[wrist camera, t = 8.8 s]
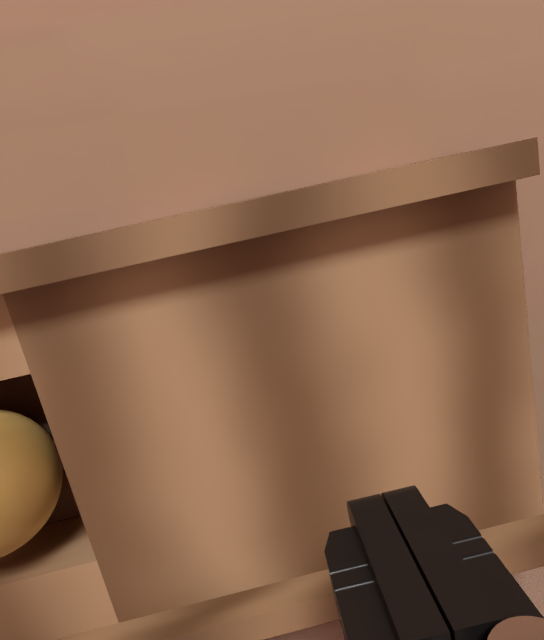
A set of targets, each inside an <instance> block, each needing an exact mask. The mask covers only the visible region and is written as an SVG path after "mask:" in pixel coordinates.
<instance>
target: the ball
mask: <svg viewBox="0 0 544 640" xmlns="http://www.w3.org/2000/svg"><path fill="white" fill-rule="evenodd" d="M62 480H63V469H62V462H61V458H60V455H59V453H58V450H57V447H56V445H55V443H54V441H53V440H52V438H51V437H50V436H49V434H48V433H47V432H46V431H45V430H44V429H43V428H42V427H41V426H40V425H39V424H37V423H36V422H34V421H33V420H32V419H29V418H27V417H25V416H23V415H21V414H19V413H15V412H12V411H7V410H1V409H0V558H1V557H3V556H5V555H7V554H9V553H11V552H13V551H15V550H16V549H18V548H19V547H21V546H22V545H24V544H25V543H27V542H28V541H29V540H30V539H31V538H32V537H33V536H35V535H36V534H37V532H38V531H39V530H40V529H41V528H42V527H43V526H44V525H45V523H46V522H47V520H48V519H49V517H50V516H51V514H52V512H53V510H54V508H55V506H56V504H57V502H58V499H59V496H60V492H61V488H62Z"/></svg>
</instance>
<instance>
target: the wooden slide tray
mask: <svg viewBox="0 0 544 640" xmlns="http://www.w3.org/2000/svg"><path fill="white" fill-rule="evenodd" d="M535 175H540V169H539V156H538V142H537V137H536V138H532V139H527V140H522V141H517V142H513V143H508V144H503V145H498V146H494V147H489V148H484V149H479V150H475V151H470V152H465V153H460V154H456V155H451V156H447V157H442V158H438V159H433V160H428V161H424V162H419V163H415V164H410V165H406V166H401V167H396V168H392V169H387V170H383V171H378V172H373V173H369V174H364V175H360V176H355V177H351V178H346V179H341V180H337V181H332V182H328V183H323V184H319V185H314V186H309V187H305V188H300V189H296V190H291V191H286V192H282V193H277V194H273V195H268V196H264V197H259V198H254V199H250V200H245V201H241V202H236V203H232V204H227V205H222V206H218V207H213V208H209V209H204V210H200V211H195V212H190V213H186V214H181V215H177V216H172V217H167V218H163V219H158V220H154V221H149V222H145V223H140V224H135V225H131V226H126V227H122V228H117V229H113V230H108V231H103V232H99V233H94V234H90V235H85V236H80V237H76V238H71V239H67V240H62V241H58V242H53V243H48V244H44V245H39V246H35V247H30V248H26V249H21V250H16V251H12V252H7V253H3V254H0V381H2V380H6V379H10V378H15V377H19V376H23V375H28V374H31V376H32V379H33V382H34V385H35V388H36V390H37V393H38V396H39V399H40V402H41V405H42V407H43V410H44V413H45V416H46V419H47V421H48V424H49V427H50V430H51V433H52V436H53V438H54V441H55V444H56V447H57V450H58V453H59V455H60V458H61V461H62V464H63V467H64V470H65V472H66V475H67V478H68V481H69V484H70V487H71V489H72V492H73V495H74V498H75V501H76V503H77V506H78V509H79V512H80V515H81V516H79V517H75V518H71V519H67V520H63V521H59V522H55V523H51V524H47V525H44V526H43V527H42V528H41V529H40V530H39V531H38V532H37V534H36V535H35V536H33V537H32V538H31V539H30V540H29V541H28V542H27V543H25V544H24V545H22V546H21V547H19V548H18V549H16V550H15V551H13V552H11V553H9V554H7V555H5V556H3V557H1V558H0V640H264V639H267V638H271V637H275V636H279V635H283V634H286V633H290V632H294V631H298V630H302V629H306V628H309V627H313V626H317V625H321V624H325V623H328V622H332V621H336V620H340V618H339V614H338V610H337V606H336V601H335V597H334V592H333V588H332V583H331V579H330V575H329V570H328V566H327V561H326V557H325V552H324V550H325V547H326V543H327V539H328V536H329V532H331V531H335V530H339V529H343V528H347V527H351V524H350V519H349V514H348V509H347V501H351V500H355V499H359V498H363V497H367V496H372V495H376V494H380V495H381V493H383V492H388V491H392V490H396V489H400V488H404V487H408V486H413V485H415V486H416V487H417V489H418V490H419V492H420V493H421V495H422V496H423V498H424V499H425V501H426V502H427V504H428V505H429V507H434V506H438V505H442V504H446V503H447V504H448V505H450V506H452V507H453V508H455V509H457V510H458V511H460V512H461V513H463V514H465V515H466V516H468V517H469V519H470V520H471V521H472V523H473V524H474V525H475V527H476V528H477V529H478V531H479V532H480V533H481V536H482V538H484V539H485V540H486V541H487V543H488V544H489V545H490V547H491V548H492V549H493V552H494V554H496V555H497V556H498V557H499V559H500V560H501V561H502V563H503V564H504V565H505V567H506V568H507V569H508V571H509V572H510V573H511V575H512V574H515V573H519V572H523V571H527V570H531V569H535V568H538V567H542V566H544V509H543V497H542V485H541V473H540V462H539V450H538V438H537V427H536V415H535V403H534V391H533V380H532V368H531V356H530V345H529V333H528V321H527V309H526V298H525V286H524V274H523V263H522V251H521V239H520V227H519V216H518V204H517V192H516V181H515V180H517V179H522V178H526V177H531V176H535Z"/></svg>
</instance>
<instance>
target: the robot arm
mask: <svg viewBox="0 0 544 640" xmlns="http://www.w3.org/2000/svg"><path fill="white" fill-rule="evenodd" d="M347 509H348V514H349V519H350V524H351V527H347V528H343V529H339V530H335V531H331V532H329V536H328V539H327V543H326V547H325V550H324V552H325V557H326V561H327V566H328V570H329V575H330V579H331V583H332V588H333V592H334V597H335V601H336V606H337V610H338V614H339V618H340V622H341V626H342V630H343V634H344V638H345V640H544V617H543V616H542V615H541V614H540V612H539V611H538V610H537V608H536V607H535V606H534V604H533V603H532V602H531V600H530V599H529V598H528V596H527V595H526V594H525V592H524V591H523V590H522V588H521V587H520V586H519V584H518V583H517V582H516V580H515V579H514V578H513V576H512V575H511V573H510V572H509V571H508V569H507V568H506V567H505V565H504V564H503V563H502V561H501V560H500V559H499V557H498V556H497V555H496V554H494V552H493V549H492V548H491V547H490V545H489V544H488V543H487V541H486V540H485V539H484V538H482V536H481V533H480V532H479V531H478V529H477V528H476V527H475V525H474V524H473V523H472V521H471V520H470V519H469V517H468V516H466V515H465V514H463V513H461V512H460V511H458V510H457V509H455V508H453V507H452V506H450V505H448V504H447V503H446V504H442V505H438V506H434V507H429V505H428V504H427V502H426V501H425V499H424V498H423V496H422V495H421V493H420V492H419V490H418V489H417V487H416V486H415V485H413V486H408V487H404V488H400V489H396V490H392V491H388V492H383V493H381V495H380V494H376V495H372V496H367V497H363V498H359V499H355V500H351V501H347Z"/></svg>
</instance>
